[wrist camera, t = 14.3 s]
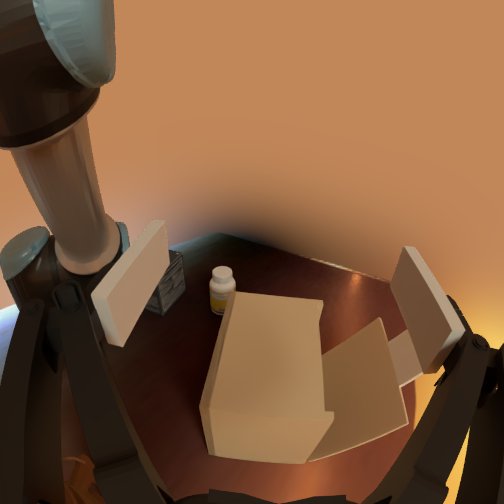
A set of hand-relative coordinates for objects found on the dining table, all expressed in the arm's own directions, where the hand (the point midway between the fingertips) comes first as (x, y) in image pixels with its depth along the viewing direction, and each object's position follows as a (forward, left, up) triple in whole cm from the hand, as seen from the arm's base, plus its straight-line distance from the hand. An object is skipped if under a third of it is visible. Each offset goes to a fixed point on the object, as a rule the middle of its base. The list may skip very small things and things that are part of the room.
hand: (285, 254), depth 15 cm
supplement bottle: (-36, +2, -36) cm, 51 cm away
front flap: (-7, +12, -35) cm, 38 cm away
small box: (-41, -11, -36) cm, 56 cm away
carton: (-10, +4, -36) cm, 37 cm away
